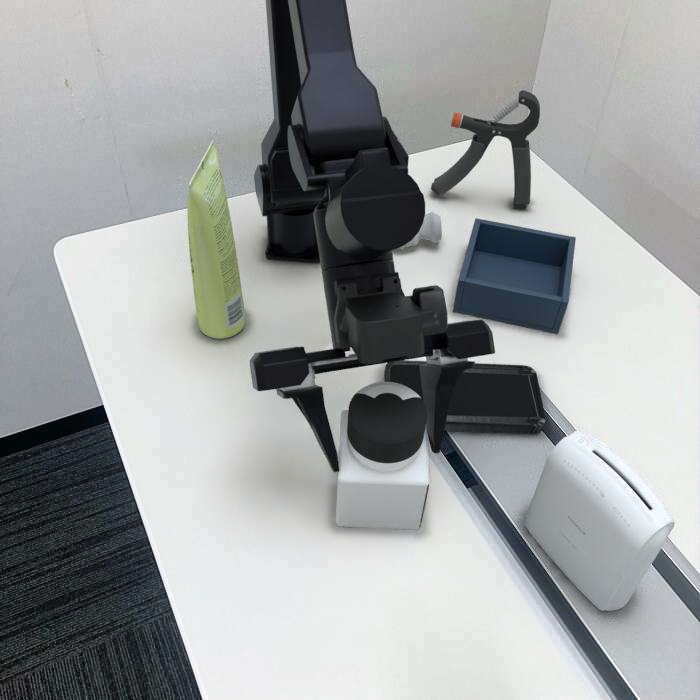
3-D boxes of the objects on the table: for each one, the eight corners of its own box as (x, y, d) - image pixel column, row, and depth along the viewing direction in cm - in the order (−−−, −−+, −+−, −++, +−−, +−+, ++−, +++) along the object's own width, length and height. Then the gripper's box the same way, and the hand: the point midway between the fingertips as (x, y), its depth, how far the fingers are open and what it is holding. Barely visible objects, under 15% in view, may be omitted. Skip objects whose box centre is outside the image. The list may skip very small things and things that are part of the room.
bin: (452, 312, 82) (458, 279, 79) (469, 249, 90) (475, 217, 86) (558, 334, 80) (568, 302, 77) (566, 268, 88) (576, 237, 85)
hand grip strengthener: (431, 188, 98) (446, 79, 87) (528, 201, 97) (555, 92, 86) (429, 198, 97) (443, 88, 86) (527, 212, 95) (555, 101, 85)
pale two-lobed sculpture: (371, 255, 90) (378, 220, 92) (438, 263, 89) (443, 228, 91) (370, 234, 86) (377, 198, 88) (440, 242, 85) (445, 206, 88)
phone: (547, 427, 70) (385, 420, 70) (544, 434, 71) (384, 428, 70) (534, 364, 75) (384, 358, 75) (532, 372, 76) (384, 365, 76)
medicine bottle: (420, 531, 63) (438, 445, 54) (335, 528, 63) (339, 441, 54) (417, 461, 68) (433, 372, 59) (338, 458, 68) (342, 368, 59)
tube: (187, 314, 80) (160, 153, 66) (230, 298, 82) (213, 137, 68) (211, 347, 77) (188, 184, 63) (255, 329, 79) (242, 167, 65)
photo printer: (514, 522, 64) (546, 432, 55) (551, 500, 66) (589, 410, 57) (601, 623, 58) (653, 541, 49) (640, 596, 60) (697, 512, 51)
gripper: (245, 272, 50) (281, 505, 50) (509, 238, 53) (539, 455, 54) (237, 285, 60) (266, 476, 61) (456, 256, 64) (481, 437, 65)
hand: (386, 461), depth 60 cm, fingers closed on medicine bottle, 8 cm apart
